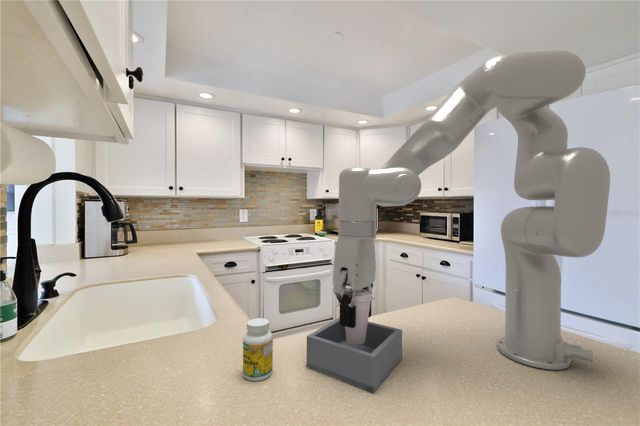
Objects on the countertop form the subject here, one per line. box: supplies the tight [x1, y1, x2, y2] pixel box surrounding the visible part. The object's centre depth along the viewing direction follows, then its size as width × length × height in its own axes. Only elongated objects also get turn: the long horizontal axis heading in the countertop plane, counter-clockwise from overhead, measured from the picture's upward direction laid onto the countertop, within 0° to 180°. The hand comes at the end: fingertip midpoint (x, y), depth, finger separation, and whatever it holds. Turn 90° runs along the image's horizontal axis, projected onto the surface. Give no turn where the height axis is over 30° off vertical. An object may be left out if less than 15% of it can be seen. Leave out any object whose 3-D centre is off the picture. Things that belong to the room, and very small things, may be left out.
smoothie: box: [345, 287, 373, 345], centre depth 57 cm, size 6×6×14 cm
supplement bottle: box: [242, 317, 274, 382], centre depth 53 cm, size 5×5×10 cm
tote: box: [305, 317, 403, 394], centre depth 57 cm, size 14×14×6 cm
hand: (355, 319), depth 57 cm, fingers closed on smoothie, 6 cm apart
